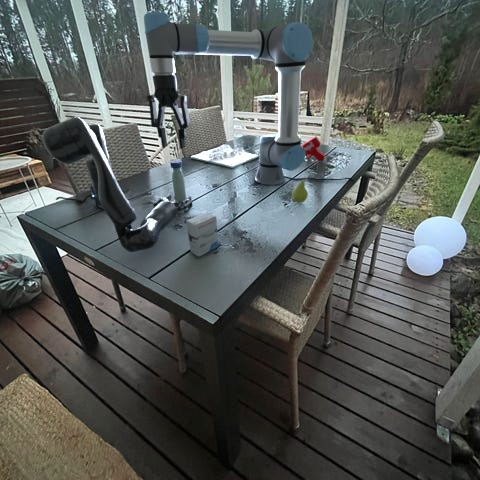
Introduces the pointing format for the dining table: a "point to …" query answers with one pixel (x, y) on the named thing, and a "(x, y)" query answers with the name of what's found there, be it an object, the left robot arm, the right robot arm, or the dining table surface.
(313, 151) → the toy gun
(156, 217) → the left robot arm
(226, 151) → the relief map
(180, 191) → the bottle
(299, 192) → the fruit
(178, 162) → the cap
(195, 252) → the ink box
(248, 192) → the dining table surface
